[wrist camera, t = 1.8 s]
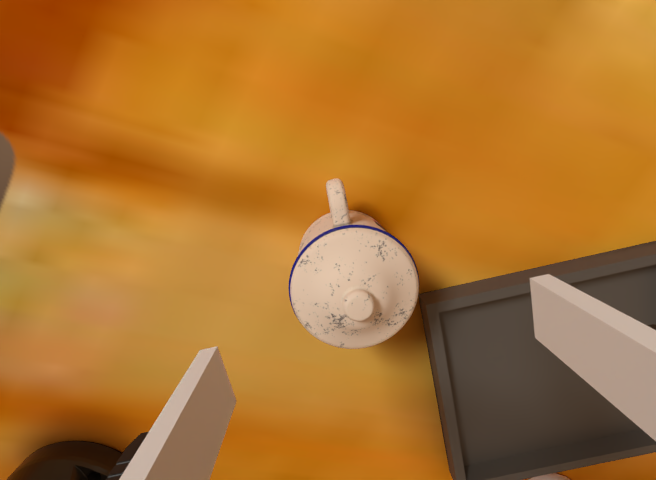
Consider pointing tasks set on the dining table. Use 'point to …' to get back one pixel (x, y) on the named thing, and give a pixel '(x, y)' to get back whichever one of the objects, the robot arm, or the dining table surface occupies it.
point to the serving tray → (529, 372)
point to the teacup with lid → (352, 278)
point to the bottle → (550, 477)
